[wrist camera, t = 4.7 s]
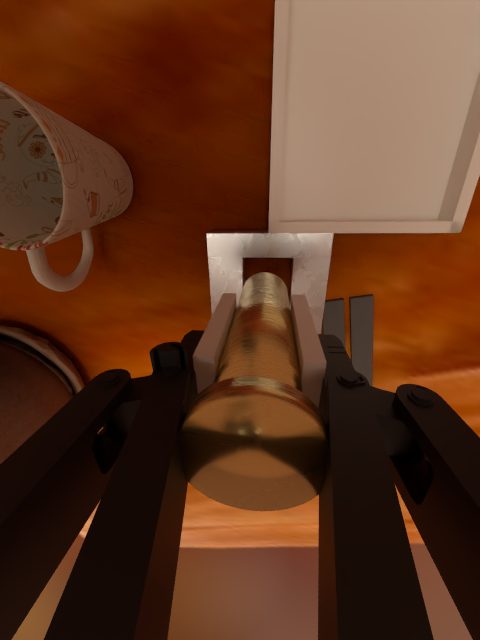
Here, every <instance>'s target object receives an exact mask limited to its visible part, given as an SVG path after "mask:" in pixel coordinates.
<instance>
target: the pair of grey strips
mask: <svg viewBox="0 0 480 640" xmlns="http://www.w3.org/2000/svg"><path fill="white" fill-rule="evenodd" d="M349 298H350V340H351V363H352V365H353V367H354V369H355V371H357V372H359V373H361V374H362V375H363V376H365V377H366V378H367V380H368V382H369V385H370V386H372V370H373V304H374V296H373V295H372V294H371V295H364V296H356V297H349ZM322 322H323V334H326V335H335V336H336V337H337V338H339V339H340V340H341V341H342V343H343V346H344V348H345V320H344V299H343V298H341V299H333V300H326V301H325V305H324V312H323V320H322Z"/></svg>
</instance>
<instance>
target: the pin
mask: <svg viewBox="0 0 480 640" xmlns="http://www.w3.org/2000/svg"><path fill="white" fill-rule="evenodd" d="M179 439H180V445H181V451H182V457H183V463H184V469H185V475H186V479H187V481H188V482H189V483H190V484H191V485H192V486H193V487H195V488H196V489H197V490H198V491H200V492H201V493H203V494H204V495H206V496H208V497H209V498H211V499H213V500H215V501H218V502H220V503H223V504H225V505H229V506H232V507H236V508H240V509H245V510H253V511H275V510H283V509H288V508H292V507H296V506H298V505H301V504H304V503H306V502H308V501H309V500H311V499H313V498H314V497H316V496H317V495H318V494H319V493H320V491H321V486H322V481H323V475H324V470H325V465H326V459H327V454H328V449H329V440H328V433H327V427H326V423H325V420H324V417H323V415H322V413H321V411H320V410H319V408H318V407H317V406H316V404H315V403H314V402H313V401H312V400H311V399H310V398H309V397H308V396H306V395H305V394H304V393H303V391H302V384H301V378H300V371H299V364H298V358H297V351H296V345H295V338H294V331H293V325H292V318H291V312H290V305H289V299H288V292H287V287H286V285H285V283H284V281H283V280H282V279H281V278H280V277H278V276H277V275H275V274H272V273H268V272H261V273H257V274H255V275H253V276H251V277H250V278H249V279H248V280H247V281H246V282H245V284H244V286H243V289H242V293H241V296H240V299H239V302H238V306H237V309H236V312H235V315H234V318H233V322H232V325H231V328H230V331H229V335H228V338H227V341H226V344H225V348H224V351H223V354H222V357H221V360H220V364H219V367H218V370H217V373H216V377H215V380H214V383H213V384H212V385H210V386H208V387H207V388H205V389H204V390H202V391H201V392H200V393H199V394H198V395H197V396H196V397H195V398H194V399H193V401H192V402H191V404H190V406H189V408H188V410H187V412H186V415H185V418H184V420H183V423H182V425H181V428H180V431H179Z"/></svg>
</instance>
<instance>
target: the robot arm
mask: <svg viewBox="0 0 480 640" xmlns="http://www.w3.org/2000/svg"><path fill="white" fill-rule="evenodd" d="M236 309H237V303H236V293H223V295H222V297H221V299H220V301H219V303H218V305H217V307H216V309H215V311H214V313H213V315H212V317H211V319H210V321H209V323H208V325H207V327H206V329H205V331H199V330H192V331H190V332H189V333H187V334H186V335H185V336H184V338H183V339H182V341H181V342H180V343H179V342H167V343H163V344H160V345H157V346H156V347H154V348H153V349H152V350H151V351H150V357H151V362H152V367H153V373H152V375H150V376H145V377H139V378H133V379H131V376H130V373H129V372H128V371H127V370H123V369H112V370H108V371H105V372H103V373H101V374H99V375H98V376H96V377H95V378H94V379H92V380H91V381H90V382H89V383H88V384H87V385H86V386H85V387H84V388H83V389H82V390H80V391H79V392H78V393H77V394H76V395H75V396H74V397H73V398H72V399H71V400H70V401H69V402H67V403H66V404H65V405H64V406H63V407H62V408H61V409H60V410H59V411H58V412H57V413H55V414H54V415H53V416H52V417H51V418H50V419H49V420H48V421H47V422H46V423H45V424H44V425H42V426H41V427H40V428H39V429H38V430H37V431H36V432H35V433H34V434H33V435H32V436H30V437H29V438H28V439H27V440H26V441H25V442H24V443H23V444H22V445H21V446H20V447H18V448H17V449H16V450H15V451H14V452H13V453H12V454H11V455H10V456H9V457H8V458H7V459H5V460H4V461H3V462H2V463H1V464H0V640H11V639H12V638H13V636H14V635H15V633H16V632H17V630H18V628H19V627H20V625H21V624H22V622H23V621H24V619H25V617H26V616H27V614H28V613H29V611H30V610H31V608H32V606H33V605H34V603H35V602H36V600H37V599H38V597H39V595H40V593H41V592H42V591H43V589H44V588H45V586H46V584H47V583H48V581H49V580H50V578H51V577H52V575H53V573H54V572H55V570H56V569H57V567H58V566H59V564H60V562H61V561H62V559H63V558H64V556H65V555H66V553H67V551H68V550H69V548H70V547H71V545H72V543H73V542H74V541H75V539H76V537H77V536H78V534H79V533H80V531H81V530H82V528H83V526H84V525H85V523H86V522H87V520H88V519H89V517H90V515H91V514H92V512H93V511H94V509H95V508H96V506H97V504H98V503H99V501H100V500H101V501H100V503H99V505H98V508H97V510H96V513H95V515H94V518H93V520H92V523H91V525H90V528H89V530H88V532H87V535H86V537H85V540H84V542H83V545H82V547H81V550H80V552H79V555H78V557H77V559H76V562H75V564H74V567H73V569H72V572H71V574H70V577H69V579H68V581H67V584H66V586H65V589H64V591H63V594H62V596H61V599H60V601H59V604H58V606H57V608H56V611H55V613H54V616H53V618H52V621H51V623H50V626H49V628H48V631H47V633H46V636H45V638H44V640H167V638H168V630H169V622H170V615H171V607H172V599H173V591H174V584H175V576H176V569H177V561H178V554H179V546H180V539H181V531H182V523H183V516H184V508H185V500H186V493H187V485H188V481H187V479H186V475H185V469H184V463H183V457H182V451H181V445H180V439H179V431H180V428H181V425H182V423H183V420H184V418H185V415H186V412H187V410H188V408H189V406H190V404H191V402H192V401H193V399H194V398H195V397H196V396H197V395H198V394H199V393H200V392H201V391H202V390H204V389H205V388H207V387H208V386H210V385H212V384H213V383H214V380H215V377H216V373H217V370H218V367H219V364H220V360H221V357H222V354H223V351H224V348H225V344H226V341H227V338H228V335H229V331H230V328H231V325H232V322H233V318H234V315H235V312H236ZM290 312H291V318H292V325H293V331H294V338H295V345H296V351H297V358H298V364H299V371H300V378H301V384H302V391H303V393H304V394H305V395H306V396H308V397H309V398H310V399H311V400H312V401H313V402H314V403H315V404H316V406H317V407H318V408H319V410H320V411H321V413H322V415H323V417H324V420H325V423H326V427H327V433H328V440H329V449H328V454H327V459H326V465H325V470H324V475H323V481H322V486H321V491H320V493H319V579H318V584H319V586H318V588H319V589H318V594H319V595H318V599H319V600H318V640H434V639H433V635H432V631H431V627H430V623H429V620H428V616H427V611H426V607H425V603H424V599H423V596H422V592H421V588H420V584H419V580H418V576H417V572H416V568H415V564H414V560H413V556H412V552H411V548H410V544H409V540H408V536H407V532H406V528H405V524H404V520H403V516H402V512H401V508H400V504H399V500H398V496H397V492H396V488H395V485H396V487H397V489H398V491H399V493H400V495H401V497H402V499H403V501H404V503H405V505H406V507H407V509H408V511H409V513H410V515H411V517H412V519H413V521H414V523H415V525H416V527H417V529H418V531H419V533H420V535H421V537H422V539H423V541H424V543H425V545H426V546H427V549H428V551H429V553H430V555H431V557H432V559H433V561H434V563H435V565H436V567H437V569H438V571H439V573H440V575H441V577H442V579H443V581H444V583H445V585H446V587H447V589H448V591H449V593H450V595H451V597H452V599H453V601H454V603H455V605H456V607H457V609H458V611H459V613H460V615H461V617H462V619H463V621H464V623H465V625H466V627H467V629H468V631H469V633H470V635H471V637H472V639H473V640H480V438H479V437H478V435H477V434H476V433H475V432H474V431H473V430H472V429H471V428H470V427H469V426H468V425H467V424H466V423H465V422H464V421H463V420H462V418H461V417H460V416H459V415H458V414H457V413H456V412H455V411H454V410H453V409H452V408H451V407H450V406H449V405H448V404H447V403H446V401H445V400H444V399H443V398H442V397H440V396H439V395H438V394H437V393H435V392H434V391H432V390H430V389H428V388H426V387H423V386H419V385H415V384H403V385H400V386H399V387H397V390H396V393H393V392H389V391H385V390H381V389H378V388H375V387H372V386H370V385H369V382H368V380H367V378H366V377H365V376H363V375H362V374H361V373H359V372H357V371H355V369H354V367H353V365H352V363H351V361H350V358H349V356H348V354H347V352H346V350H345V348H344V346H343V343H342V341H341V340H340V339H339V338H337V337H336V336H335V335H326V334H317V331H316V328H315V324H314V321H313V318H312V315H311V312H310V309H309V305H308V302H307V299H306V296H305V295H294V294H291V307H290ZM102 427H103V429H102V430H101V431H100V432H99V430H100V429H101V428H102ZM98 432H99V433H98ZM97 433H98V434H97ZM394 483H395V484H394Z"/></svg>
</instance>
